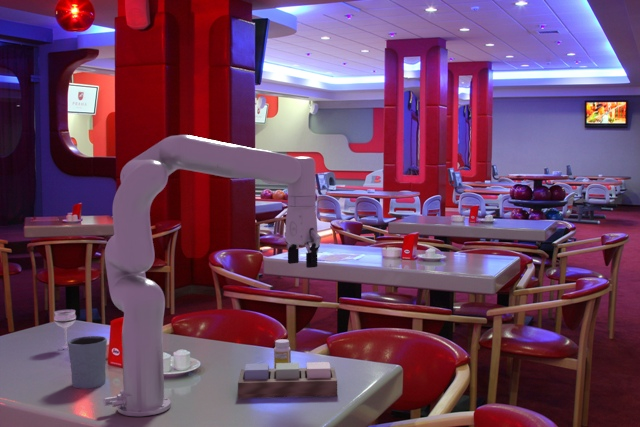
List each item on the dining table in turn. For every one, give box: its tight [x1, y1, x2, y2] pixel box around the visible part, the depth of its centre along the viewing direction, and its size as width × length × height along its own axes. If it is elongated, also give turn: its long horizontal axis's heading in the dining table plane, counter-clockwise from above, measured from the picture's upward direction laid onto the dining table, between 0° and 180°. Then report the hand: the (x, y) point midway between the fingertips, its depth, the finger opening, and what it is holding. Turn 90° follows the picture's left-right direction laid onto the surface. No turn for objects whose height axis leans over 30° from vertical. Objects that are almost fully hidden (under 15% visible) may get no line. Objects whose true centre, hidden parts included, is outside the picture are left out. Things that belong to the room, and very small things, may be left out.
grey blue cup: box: [67, 335, 108, 390], centre depth 194 cm, size 10×10×12 cm
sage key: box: [276, 362, 300, 379], centre depth 187 cm, size 6×6×4 cm
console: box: [237, 366, 338, 399], centre depth 187 cm, size 25×12×4 cm, turn 92°
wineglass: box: [53, 308, 77, 348], centre depth 232 cm, size 7×7×12 cm
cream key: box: [306, 361, 331, 378], centre depth 187 cm, size 6×6×4 cm
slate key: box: [244, 362, 270, 380], centre depth 187 cm, size 6×6×4 cm
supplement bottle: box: [273, 338, 292, 369], centre depth 206 cm, size 5×5×8 cm
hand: (302, 265), depth 196 cm, fingers open, 9 cm apart
